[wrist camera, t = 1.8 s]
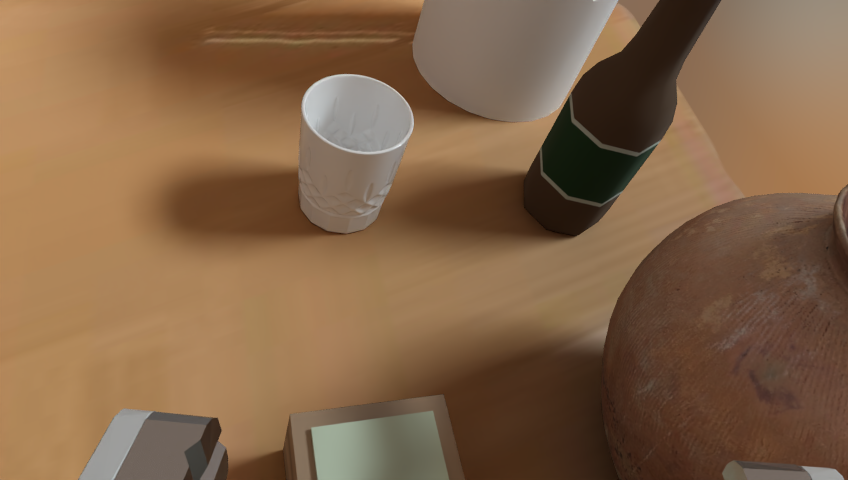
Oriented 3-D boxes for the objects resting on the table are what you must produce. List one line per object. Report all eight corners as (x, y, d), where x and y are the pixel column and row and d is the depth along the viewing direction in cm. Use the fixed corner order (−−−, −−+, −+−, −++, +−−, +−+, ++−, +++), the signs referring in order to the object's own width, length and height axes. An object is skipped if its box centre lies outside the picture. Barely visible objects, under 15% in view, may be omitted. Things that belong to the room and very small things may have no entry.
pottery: (896, 601, 44) (1438, 513, 24) (599, 670, 37) (1016, 624, 17) (746, 308, 56) (1022, 93, 37) (504, 319, 49) (683, 63, 30)
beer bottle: (538, 243, 55) (699, -1, 36) (505, 174, 59) (635, -78, 40) (613, 233, 58) (798, 2, 39) (576, 168, 61) (729, -70, 43)
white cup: (395, 238, 51) (424, 153, 44) (296, 242, 49) (308, 154, 41) (377, 164, 56) (401, 75, 48) (286, 165, 53) (295, 71, 45)
